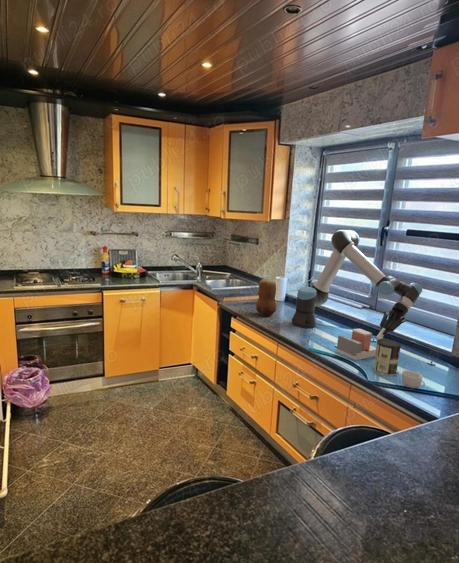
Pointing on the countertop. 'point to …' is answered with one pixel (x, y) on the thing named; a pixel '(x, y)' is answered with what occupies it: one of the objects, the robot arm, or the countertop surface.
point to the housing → (353, 348)
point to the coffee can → (386, 357)
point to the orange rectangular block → (362, 338)
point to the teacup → (412, 379)
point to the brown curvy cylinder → (266, 297)
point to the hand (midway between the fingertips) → (378, 338)
